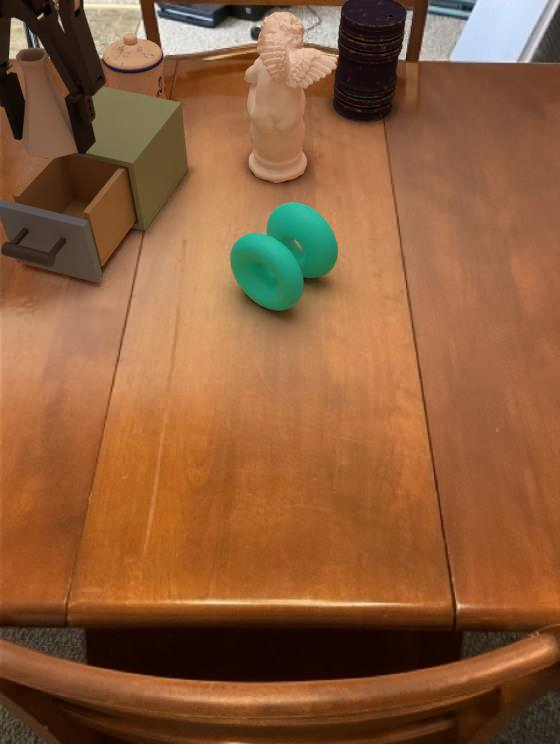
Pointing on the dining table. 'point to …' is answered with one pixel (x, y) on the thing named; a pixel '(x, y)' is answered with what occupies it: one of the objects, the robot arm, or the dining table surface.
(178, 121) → the cabinet
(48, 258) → the drawer
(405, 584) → the dining table surface
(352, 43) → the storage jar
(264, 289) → the green rounded spool
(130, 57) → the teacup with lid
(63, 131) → the flask
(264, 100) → the cherub figurine
